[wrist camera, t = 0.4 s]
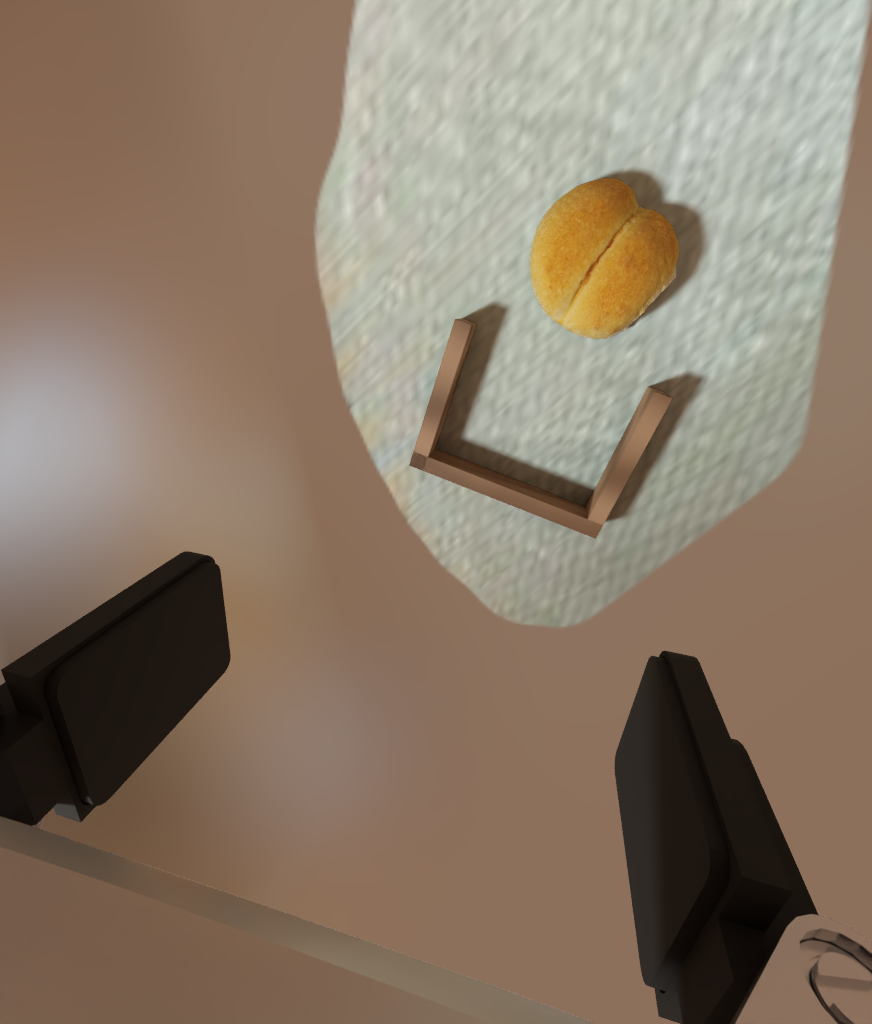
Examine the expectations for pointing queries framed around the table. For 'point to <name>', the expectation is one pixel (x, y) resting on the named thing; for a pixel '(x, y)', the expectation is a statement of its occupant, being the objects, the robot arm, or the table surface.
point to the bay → (516, 491)
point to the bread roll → (601, 259)
